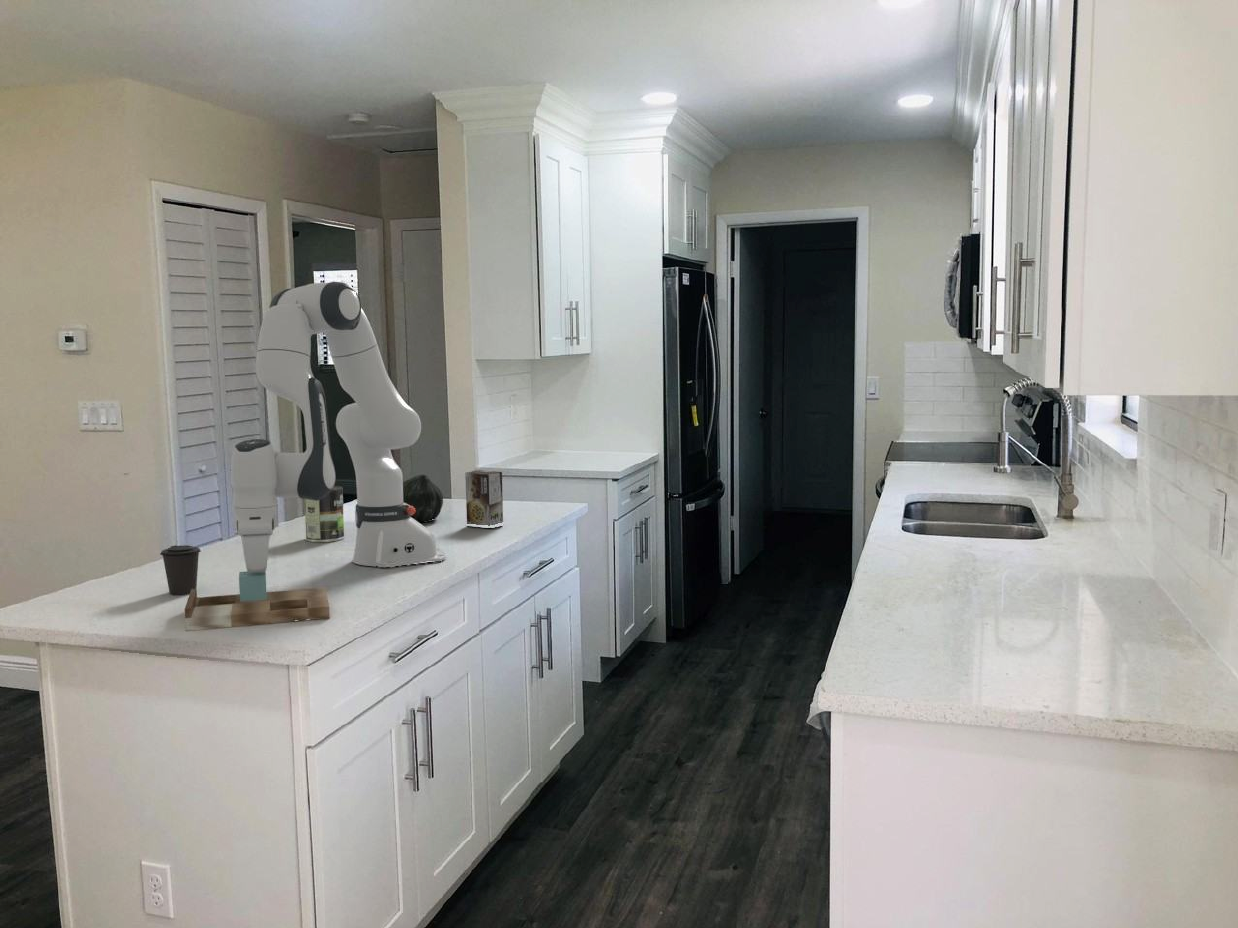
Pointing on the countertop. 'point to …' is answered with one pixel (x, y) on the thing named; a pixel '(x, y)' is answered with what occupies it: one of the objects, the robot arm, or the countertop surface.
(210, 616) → the board
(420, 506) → the squash
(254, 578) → the teal block
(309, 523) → the coffee can
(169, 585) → the coffee cup
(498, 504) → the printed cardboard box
